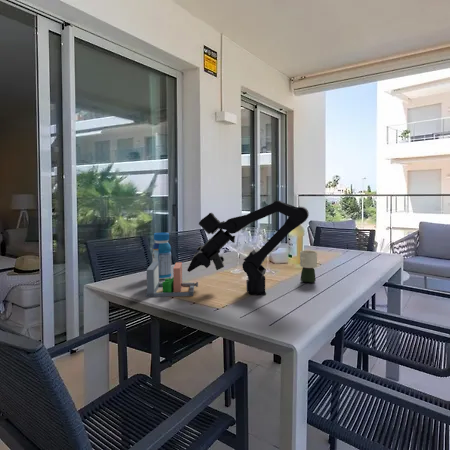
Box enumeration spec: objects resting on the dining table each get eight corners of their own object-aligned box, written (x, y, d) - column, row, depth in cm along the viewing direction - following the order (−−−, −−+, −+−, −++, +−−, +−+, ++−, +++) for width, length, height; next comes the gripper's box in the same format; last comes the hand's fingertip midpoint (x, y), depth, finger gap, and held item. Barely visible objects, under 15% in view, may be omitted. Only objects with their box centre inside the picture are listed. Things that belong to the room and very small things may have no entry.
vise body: (194, 285, 148) (194, 261, 147) (192, 295, 133) (192, 269, 132) (152, 285, 147) (151, 261, 146) (145, 296, 132) (145, 269, 131)
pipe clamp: (166, 288, 145) (166, 276, 144) (176, 288, 145) (175, 276, 144) (161, 295, 134) (160, 283, 133) (171, 295, 134) (170, 283, 133)
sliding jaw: (198, 285, 146) (198, 262, 145) (197, 293, 135) (197, 268, 134) (176, 286, 146) (175, 262, 145) (173, 293, 135) (173, 268, 134)
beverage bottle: (167, 280, 156) (167, 234, 154) (149, 279, 158) (148, 234, 156) (174, 275, 165) (173, 232, 163) (157, 274, 166) (156, 231, 164)
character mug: (308, 278, 159) (308, 249, 158) (322, 281, 154) (323, 251, 153) (293, 282, 152) (293, 252, 151) (307, 285, 147) (308, 254, 146)
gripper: (232, 262, 131) (202, 292, 131) (230, 253, 149) (203, 279, 150) (211, 240, 130) (180, 270, 130) (211, 234, 148) (184, 260, 149)
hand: (188, 271), depth 140 cm, fingers closed
